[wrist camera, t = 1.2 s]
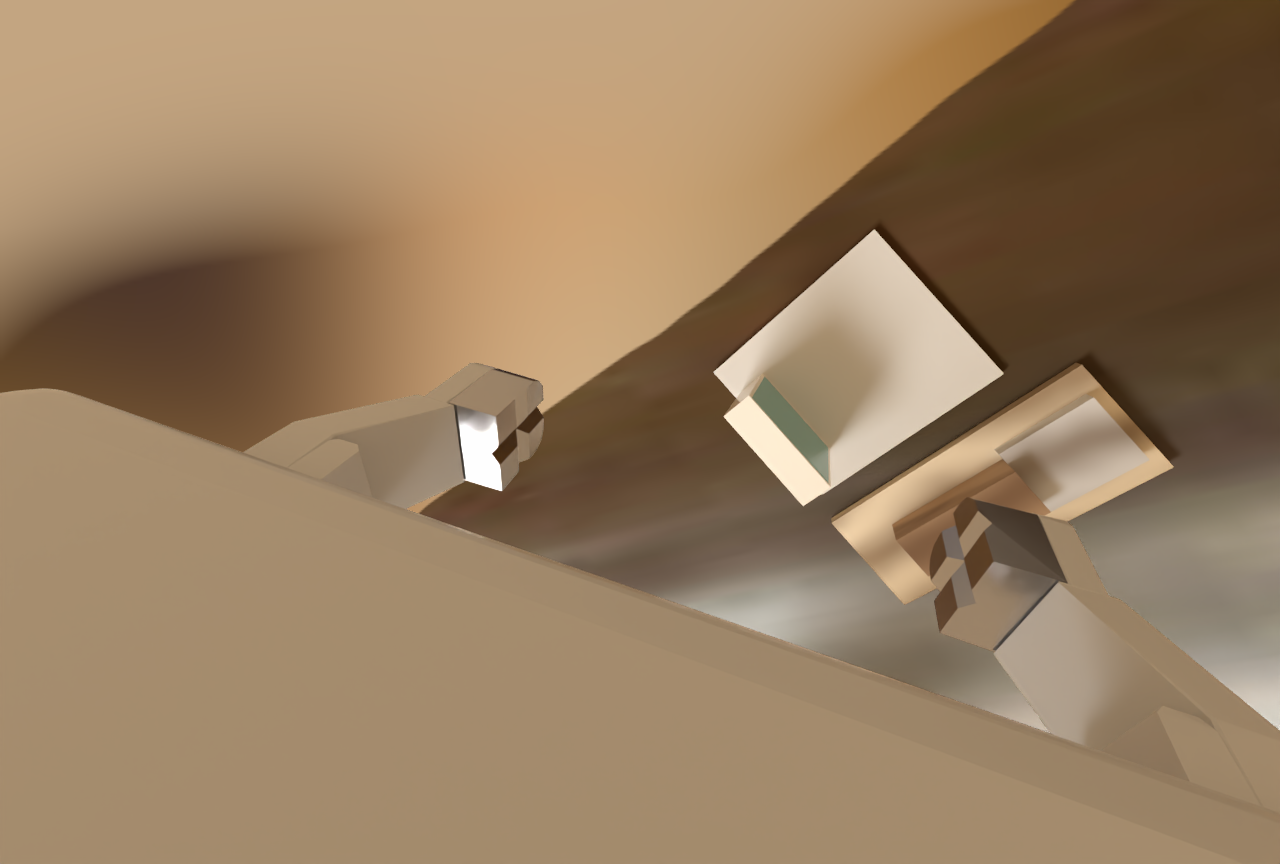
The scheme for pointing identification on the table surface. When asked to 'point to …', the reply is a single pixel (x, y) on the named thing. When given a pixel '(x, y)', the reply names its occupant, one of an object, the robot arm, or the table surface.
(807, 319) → the mat
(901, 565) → the board
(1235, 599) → the table surface
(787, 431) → the tile
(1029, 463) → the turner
